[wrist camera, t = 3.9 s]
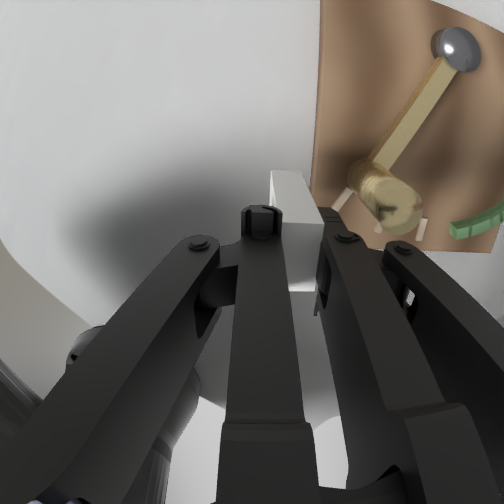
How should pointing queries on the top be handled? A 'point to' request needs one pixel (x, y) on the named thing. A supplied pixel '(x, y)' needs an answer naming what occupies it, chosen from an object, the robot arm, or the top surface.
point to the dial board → (429, 133)
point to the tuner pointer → (410, 136)
